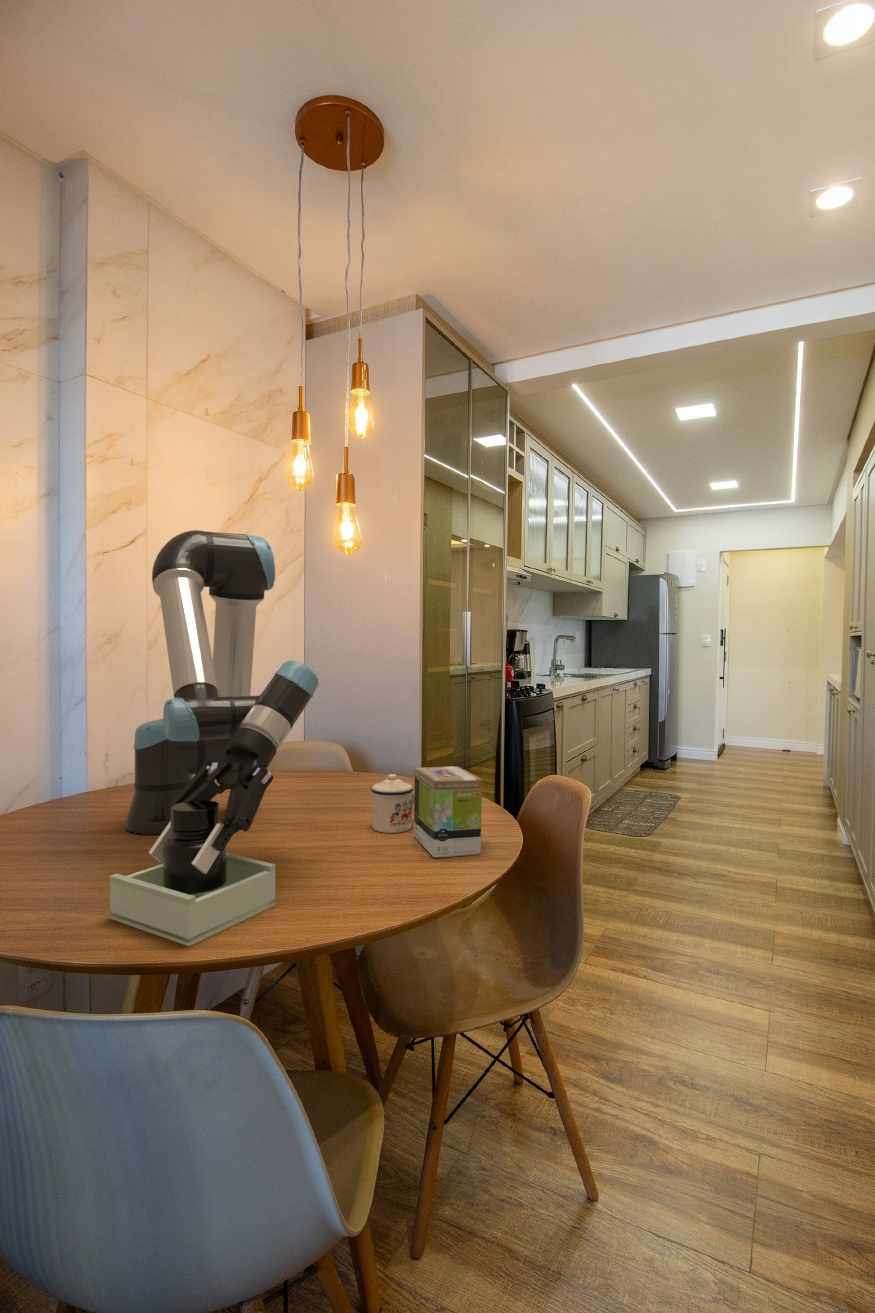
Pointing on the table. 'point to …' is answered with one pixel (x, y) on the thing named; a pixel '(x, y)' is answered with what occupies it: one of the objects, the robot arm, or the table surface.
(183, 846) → the ink bottle
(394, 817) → the teacup with lid
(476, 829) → the tea box
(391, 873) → the table surface
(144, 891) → the tray
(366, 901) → the table surface
